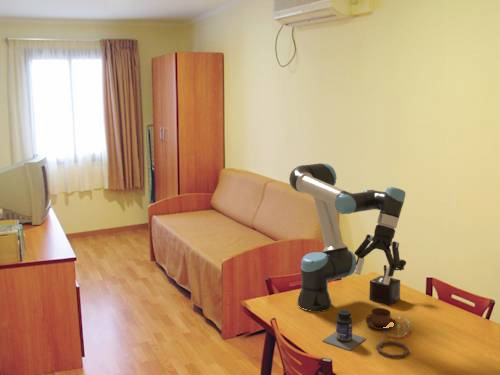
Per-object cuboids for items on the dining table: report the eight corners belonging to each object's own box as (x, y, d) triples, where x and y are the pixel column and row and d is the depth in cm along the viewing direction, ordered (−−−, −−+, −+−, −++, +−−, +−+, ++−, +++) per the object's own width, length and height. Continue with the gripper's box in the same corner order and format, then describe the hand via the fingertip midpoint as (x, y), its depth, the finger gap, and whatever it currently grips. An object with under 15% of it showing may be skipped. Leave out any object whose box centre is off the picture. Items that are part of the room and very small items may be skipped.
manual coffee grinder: (390, 306, 224) (391, 267, 221) (368, 300, 232) (369, 262, 229) (407, 296, 235) (408, 259, 232) (385, 290, 242) (386, 254, 239)
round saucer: (371, 351, 184) (371, 349, 184) (385, 340, 192) (385, 338, 192) (400, 361, 177) (400, 358, 176) (413, 349, 185) (413, 347, 185)
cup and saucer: (379, 335, 197) (379, 320, 196) (359, 323, 208) (359, 309, 207) (402, 328, 203) (402, 313, 202) (381, 317, 213) (382, 303, 212)
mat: (322, 341, 193) (322, 340, 193) (339, 330, 201) (339, 329, 201) (349, 351, 185) (349, 350, 185) (365, 339, 194) (365, 338, 194)
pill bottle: (352, 343, 190) (352, 315, 188) (335, 342, 191) (335, 314, 189) (352, 336, 196) (352, 309, 194) (336, 334, 197) (336, 308, 195)
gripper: (419, 235, 188) (403, 290, 187) (366, 222, 208) (351, 271, 206) (408, 231, 184) (392, 287, 182) (355, 218, 203) (340, 269, 202)
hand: (371, 279), depth 194 cm, fingers open, 13 cm apart
